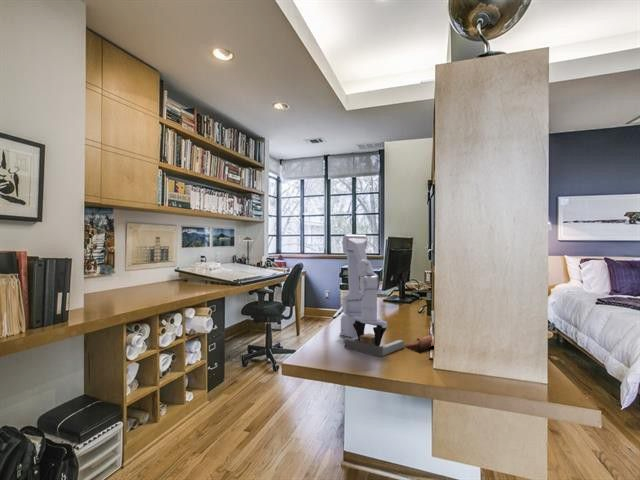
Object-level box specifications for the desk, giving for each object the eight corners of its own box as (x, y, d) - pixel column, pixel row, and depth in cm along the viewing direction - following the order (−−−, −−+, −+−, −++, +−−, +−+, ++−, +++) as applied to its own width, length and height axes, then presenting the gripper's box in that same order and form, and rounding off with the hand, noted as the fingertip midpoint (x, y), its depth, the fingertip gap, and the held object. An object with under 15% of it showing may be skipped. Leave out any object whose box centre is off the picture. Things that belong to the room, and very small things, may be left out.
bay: (344, 347, 121) (344, 339, 121) (369, 339, 132) (369, 331, 132) (379, 357, 109) (379, 348, 110) (403, 347, 121) (403, 339, 121)
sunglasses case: (428, 339, 132) (435, 327, 130) (441, 351, 127) (449, 339, 125) (401, 347, 121) (408, 333, 119) (414, 360, 116) (422, 347, 114)
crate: (359, 349, 119) (359, 335, 119) (367, 346, 122) (367, 333, 123) (370, 352, 115) (370, 338, 115) (379, 349, 119) (379, 335, 119)
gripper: (347, 306, 122) (347, 341, 121) (379, 311, 111) (379, 350, 111) (359, 304, 127) (359, 338, 126) (390, 308, 116) (390, 346, 116)
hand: (369, 343), depth 119 cm, fingers open, 7 cm apart
